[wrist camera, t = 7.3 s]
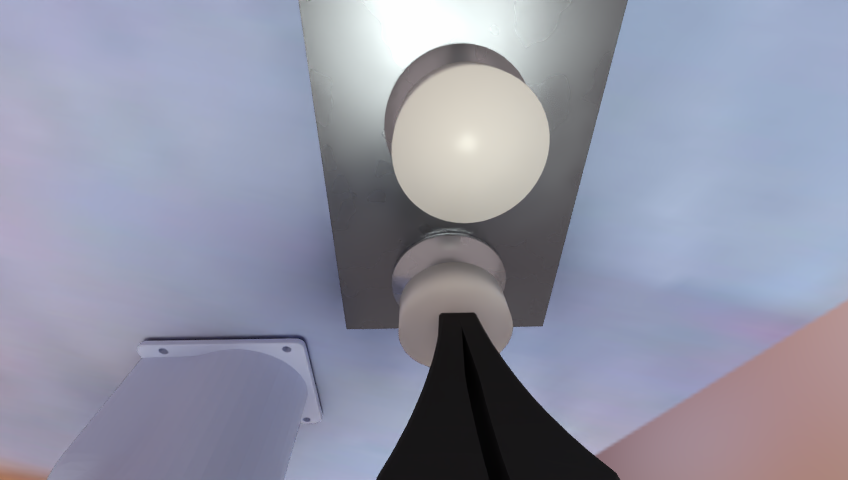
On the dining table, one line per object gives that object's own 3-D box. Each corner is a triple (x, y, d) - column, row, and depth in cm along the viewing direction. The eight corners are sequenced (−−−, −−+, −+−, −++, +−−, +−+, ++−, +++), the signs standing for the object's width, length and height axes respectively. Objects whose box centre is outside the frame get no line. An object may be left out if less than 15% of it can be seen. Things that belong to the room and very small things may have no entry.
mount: (352, 302, 19) (345, 333, 17) (276, -298, 9) (236, -393, 7) (531, 300, 19) (544, 330, 18) (662, -282, 9) (730, -368, 7)
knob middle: (397, 188, 13) (394, 223, 11) (393, 57, 11) (388, 65, 8) (512, 187, 13) (534, 222, 11) (532, 58, 11) (565, 67, 9)
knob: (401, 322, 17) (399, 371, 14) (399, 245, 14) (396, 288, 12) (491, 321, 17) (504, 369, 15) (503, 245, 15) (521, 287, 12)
